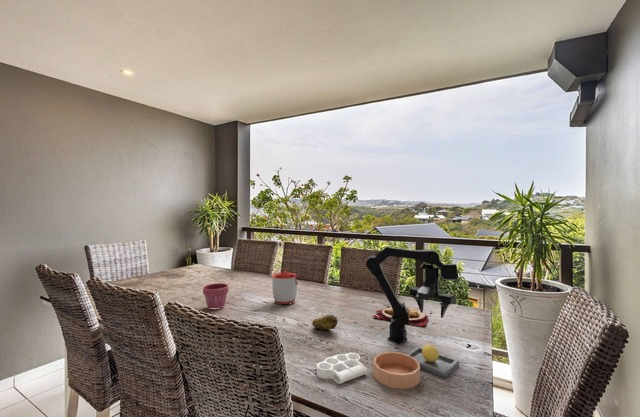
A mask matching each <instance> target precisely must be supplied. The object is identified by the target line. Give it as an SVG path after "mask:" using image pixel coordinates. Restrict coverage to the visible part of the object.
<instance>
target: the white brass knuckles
mask: <svg viewBox="0 0 640 417" xmlns="http://www.w3.org/2000/svg"><path fill="white" fill-rule="evenodd" d="M367 374H368V369H367V367H366V366H365V365H363V363H361V355H359V354H358V353H356V352H348V353H344V354H343V353H340V354H335V355H333V356H328V357H326V358H325V359H324V360H323V361H321V362H318V363H316V375H317V377H319V378H320V379H325V380H327V379H331V380H333V381H335V383H336V384H340V385H341V384H343V383H345V382H348V381H351V380H354V379H356V378H359V377H362V376H364V375H367Z"/></svg>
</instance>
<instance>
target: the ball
mask: <svg viewBox="0 0 640 417" xmlns="http://www.w3.org/2000/svg"><path fill="white" fill-rule="evenodd" d="M422 348H423V350H422V356H423V358H424V359H425V360H426V361H427V362H430V363H433V362H436V361H437V360H438V358H439V354H440V353H439V350H438V349H437V347H436V346H434V345H431V344H427V345H425V346H424V347H422Z"/></svg>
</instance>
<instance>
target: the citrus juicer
mask: <svg viewBox="0 0 640 417" xmlns="http://www.w3.org/2000/svg"><path fill="white" fill-rule="evenodd" d="M271 277H272V284H271V285H272V287H271V288H272V290H271V291H272V295H273V300H274V302H276V303H278V304H290V303H292V304H294V303H295V300H296V298H297V294H298V285H301V282H300V280H299V279H298V274H297V273H295V272H294V273H293V272H288V271H287V270H286V269H285V270H283V271H282V272H278V273H274V274H272V275H271ZM293 302H294V303H293ZM276 303H275V304H276ZM278 304H277V305H278ZM290 305H291V304H290Z"/></svg>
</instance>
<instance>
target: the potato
mask: <svg viewBox="0 0 640 417" xmlns="http://www.w3.org/2000/svg"><path fill="white" fill-rule="evenodd" d="M311 324H312V326H313V328H314V329H319V330H322V331H329V330H334V329H335V328H336V327H337V325H338V318H337V317H336V316H335V315H332V314H326V315H323V316H321V317H318V318H315V319H313V321H312V323H311Z"/></svg>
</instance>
